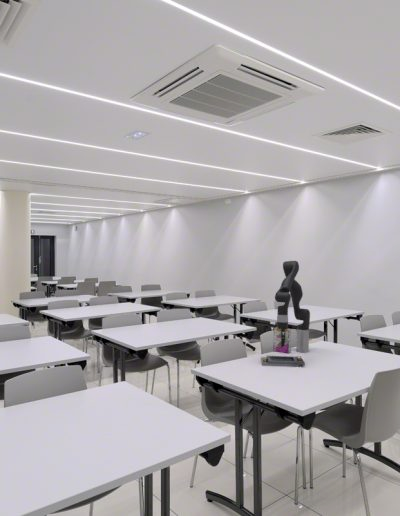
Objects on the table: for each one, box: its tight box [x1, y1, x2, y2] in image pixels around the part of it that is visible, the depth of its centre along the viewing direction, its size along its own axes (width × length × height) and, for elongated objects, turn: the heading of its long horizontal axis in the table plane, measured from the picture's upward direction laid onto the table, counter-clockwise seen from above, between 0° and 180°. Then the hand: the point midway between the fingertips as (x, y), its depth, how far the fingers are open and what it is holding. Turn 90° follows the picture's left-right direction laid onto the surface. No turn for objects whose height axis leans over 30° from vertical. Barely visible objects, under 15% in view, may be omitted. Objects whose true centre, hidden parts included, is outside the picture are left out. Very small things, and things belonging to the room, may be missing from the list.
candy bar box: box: [272, 326, 292, 354], centre depth 270 cm, size 11×5×16 cm, turn 58°
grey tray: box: [260, 355, 305, 368], centre depth 270 cm, size 16×28×5 cm, turn 85°
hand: (282, 345), depth 270 cm, fingers closed on candy bar box, 6 cm apart
